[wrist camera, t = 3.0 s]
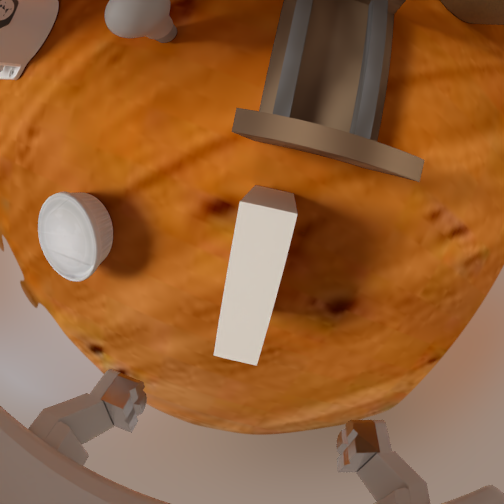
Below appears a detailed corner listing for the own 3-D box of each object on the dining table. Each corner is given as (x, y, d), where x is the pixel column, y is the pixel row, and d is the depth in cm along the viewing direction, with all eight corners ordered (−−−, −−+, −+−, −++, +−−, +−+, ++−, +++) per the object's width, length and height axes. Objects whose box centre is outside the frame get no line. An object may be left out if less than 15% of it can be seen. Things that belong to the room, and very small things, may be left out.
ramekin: (81, 274, 35) (59, 290, 30) (52, 205, 32) (27, 214, 27) (134, 253, 33) (112, 270, 28) (101, 171, 29) (74, 177, 24)
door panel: (232, 301, 33) (213, 355, 24) (255, 185, 28) (239, 201, 19) (265, 308, 33) (256, 365, 24) (293, 193, 28) (297, 214, 19)
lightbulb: (193, 53, 23) (149, 13, 13) (144, 63, 24) (86, 36, 14) (196, 11, 21) (158, -37, 11) (148, 22, 22) (98, -14, 12)
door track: (254, 140, 26) (231, 131, 15) (289, -19, 19) (287, -83, 8) (368, 169, 26) (419, 181, 15) (391, 9, 18) (431, -40, 7)
